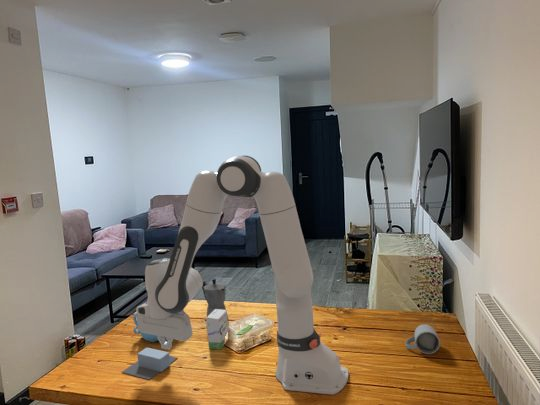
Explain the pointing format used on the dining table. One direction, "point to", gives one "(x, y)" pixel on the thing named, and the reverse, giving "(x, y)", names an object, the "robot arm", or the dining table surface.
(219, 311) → the ink box
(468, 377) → the dining table surface
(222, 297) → the coffeepot
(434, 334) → the ceramic mug
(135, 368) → the mat
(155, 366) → the block
